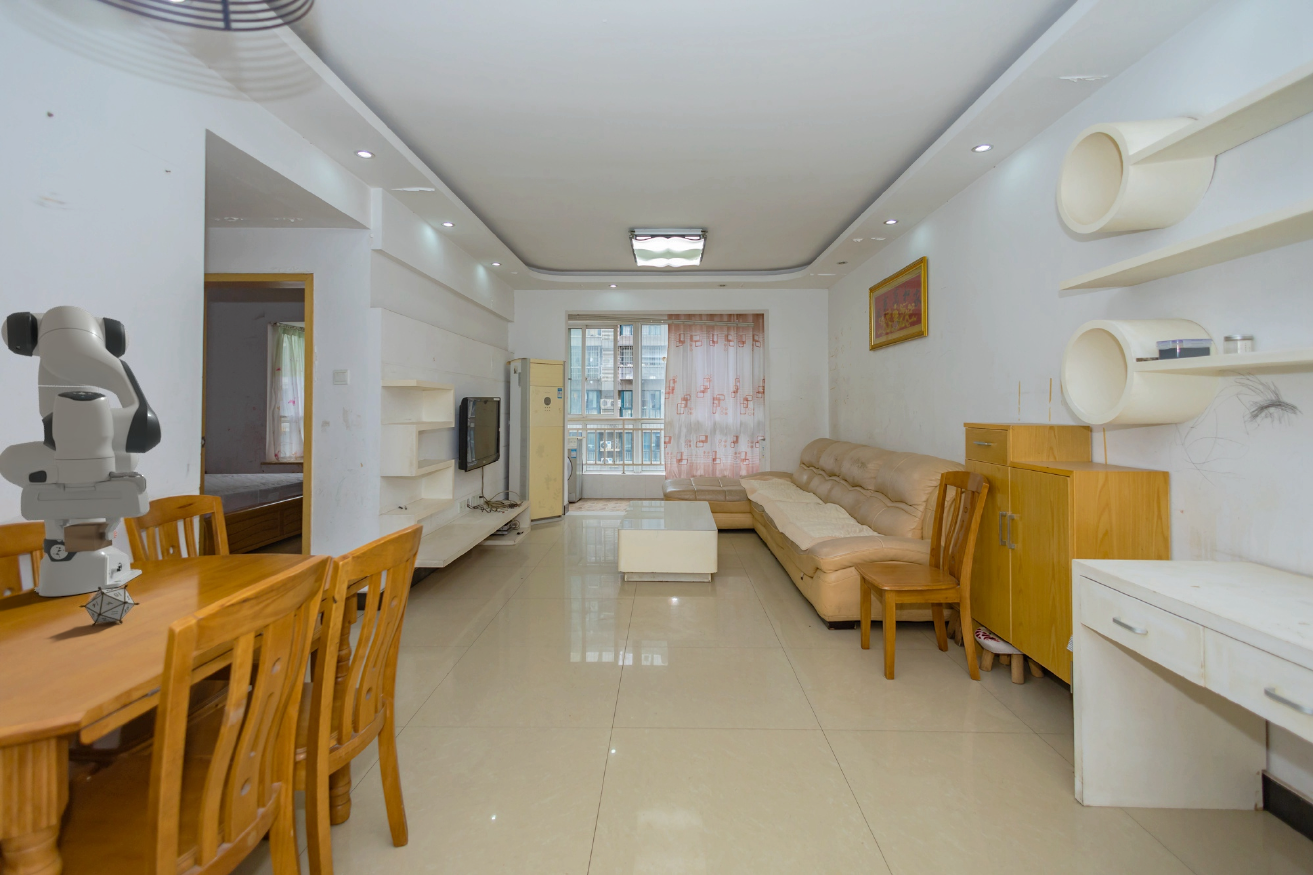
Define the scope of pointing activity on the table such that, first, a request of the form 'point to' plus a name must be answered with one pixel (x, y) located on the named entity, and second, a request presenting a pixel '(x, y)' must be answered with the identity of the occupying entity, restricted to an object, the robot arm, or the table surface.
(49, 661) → the table surface
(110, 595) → the game die
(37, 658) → the table surface
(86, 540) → the walnut cube
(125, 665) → the table surface
